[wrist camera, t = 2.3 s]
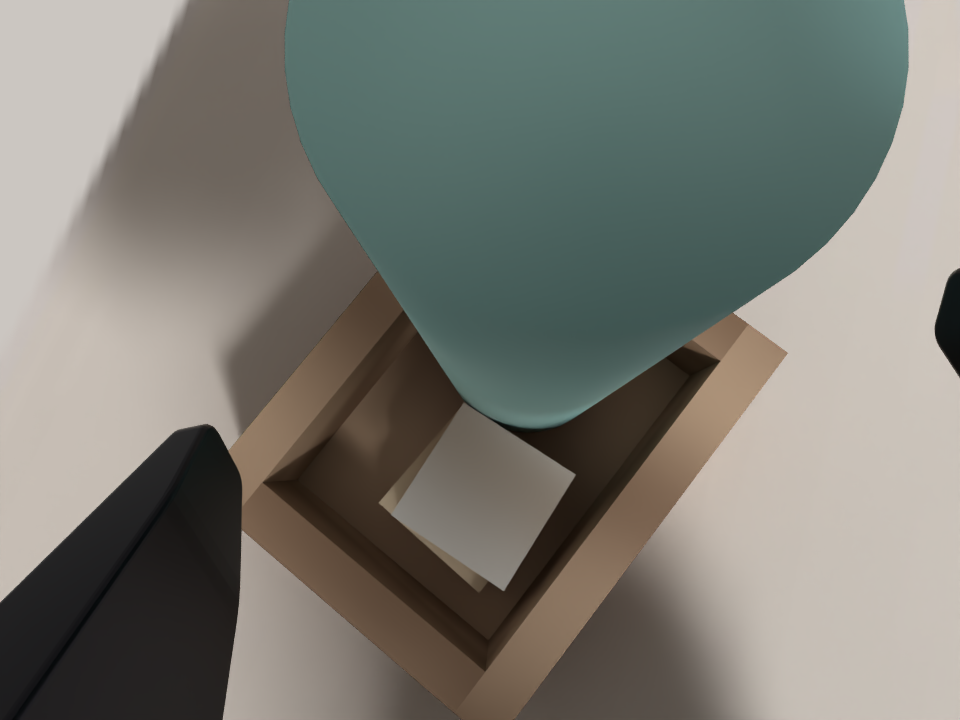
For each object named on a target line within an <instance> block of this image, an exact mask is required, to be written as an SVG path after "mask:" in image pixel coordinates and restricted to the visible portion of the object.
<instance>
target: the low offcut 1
mask: <svg viewBox="0 0 960 720" xmlns="http://www.w3.org/2000/svg"><path fill="white" fill-rule="evenodd" d="M465 404H466V403H465ZM458 411H459V410H458ZM458 411H457V412H458ZM457 412H456V413H455V415H456V414H457ZM455 415H454V416H453V417H452V418H451V419H450V420H449V421H448V423H447V424H446V425H445V426H444V427H443V428H442V430H441V431H440V432H439V433H438V434H437V435H436V437H435V438H434V439H433V440H432V441H431V442H430V444H429V445H428V446H427V447H426V448H425V449H424V451H423V452H422V453H421V454H420V455H419V456H418V458H417V459H416V460H415V461H414V462H413V463H412V465H411V466H410V467H409V468H408V469H407V470H406V472H405V473H404V474H403V475H402V476H401V477H400V478H399V480H398V481H397V482H396V483H395V484H394V485H393V487H392V488H391V489H390V490H389V491H388V492H387V494H386V495H385V496H384V497H383V498H382V499H381V501H380V502H379V504H380V505H382V506H383V507H384V508H385V509H386V510H387V511H388V512H389V513H390V514H392V512H393V511H394V509H395V508H396V506H397V505H398V503H399V502H400V500H401V499H402V497H403V496H404V494H405V492H406V491H407V489H408V488H409V486H410V485H411V483H412V482H413V480H414V479H415V477H416V475H417V474H418V472H419V471H420V469H421V468H422V466H423V465H424V463H425V462H426V460H427V458H428V457H429V455H430V454H431V452H432V451H433V449H434V448H435V446H436V445H437V443H438V441H439V440H440V438H441V437H442V435H443V434H444V432H445V431H446V429H447V428H448V426H449V424H450V423H451V421H452V420H453V418H454V417H455ZM398 521H399V520H398ZM399 522H400V521H399ZM400 523H402V522H400ZM402 524H403V523H402ZM403 525H404V526H405V527H406V528H407V529H408V530H409V531H410V532H412V533H413V534H414V535H415V536H416V537H417V538H418V539H419V540H420V541H422V542H423V543H424V544H425V545H426V546H427V547H428V548H429V549H430V550H432V551H433V552H434V553H435V554H436V555H437V556H438V557H439V558H441V559H442V560H443V561H444V562H445V563H446V564H447V565H448V566H449V567H451V568H452V569H453V570H454V571H455V572H456V573H457V574H458V575H459V576H461V577H462V578H463V579H464V580H465V581H466V582H467V583H468V584H469V585H471V586H472V587H473V588H474V589H475V590H476V591H477V592H478V593H479V592H480V591H481V590H482V589H483V587H484V586H485V585H486V584H487V583H488V580H486V579H485V578H483V577H482V576H480V575H479V574H477V573H476V572H475V571H473V570H472V569H470V568H469V567H467V566H466V565H464V564H463V563H461V562H460V561H458V560H457V559H455V558H454V557H452V556H451V555H449V554H448V553H446V552H445V551H443V550H442V549H440V548H439V547H437V546H436V545H434V544H433V543H432V542H430V541H429V540H427V539H426V538H424V537H423V536H421V535H420V534H418V533H417V532H415V531H414V530H412V529H411V528H409V527H408V526H406V525H405V524H403Z"/></svg>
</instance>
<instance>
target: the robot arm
mask: <svg viewBox="0 0 960 720" xmlns="http://www.w3.org/2000/svg"><path fill="white" fill-rule="evenodd" d="M935 336H936V340H937V343H938V345H939V347H940V349H941V350H942V352H943V353H944V355H945V356H946V358H947V359H948V361H949V362H950V364H951V365H952V367H953V368H954V370H955V371H956V373H957V374H958V376H959V377H960V268H959V269H957V270H955V271H954V272H953V273H952V274H951V275H950V276H949V278H948V280H947V283H946V287H945V290H944V294H943V297H942V301H941V305H940V308H939V312H938V315H937V319H936V323H935ZM241 528H242V480H241V476H240V473H239V470H238V468H237V466H236V464H235V463H234V461H233V459H232V457H231V455H230V453H229V452H228V450H227V448H226V446H225V444H224V442H223V440H222V439H221V437H220V435H219V433H218V432H217V430H216V429H215V428H214V427H213V426H211V425H208V424H203V425H198V426H194V427H189V428H184V429H180V430H177V431H175V432H174V433H173V434H172V435H170V436H169V437H168V438H167V439H166V440H165V441H164V442H163V443H162V444H161V445H160V446H159V447H158V448H157V449H156V450H155V451H154V452H153V453H152V454H151V455H150V456H149V457H148V458H147V459H146V460H145V461H144V462H143V463H142V464H141V465H140V466H139V467H138V468H137V469H136V470H135V471H134V472H133V473H132V474H131V475H130V476H129V477H128V478H127V479H126V480H125V481H124V482H123V483H122V484H121V485H120V486H119V487H117V488H116V489H115V490H114V491H113V492H112V493H111V494H110V495H109V496H108V497H107V498H106V499H105V500H104V501H103V502H102V503H101V504H100V505H99V506H98V507H97V508H96V509H95V510H94V511H93V512H92V513H91V514H90V515H89V516H88V517H87V518H86V519H85V520H84V521H83V522H82V523H81V524H80V525H79V526H78V527H77V528H76V529H75V530H74V531H73V532H72V533H71V534H70V535H69V536H68V537H67V538H65V539H64V540H63V541H62V542H61V543H60V544H59V545H58V546H57V547H56V548H55V549H54V550H53V551H52V552H51V553H50V554H49V555H48V556H47V557H46V558H45V559H44V560H43V561H42V562H41V563H40V564H39V565H38V566H37V567H36V568H35V569H34V570H33V571H32V572H31V573H30V574H29V575H28V576H27V577H26V578H25V579H24V580H23V581H22V582H21V583H20V584H19V585H18V586H17V587H15V588H14V589H13V590H12V591H11V592H10V593H9V594H8V595H7V596H6V597H5V598H4V599H3V600H2V601H1V602H0V720H222V719H223V713H224V706H225V699H226V692H227V685H228V678H229V671H230V664H231V658H232V651H233V644H234V637H235V630H236V623H237V615H238V607H239V594H240V568H241Z"/></svg>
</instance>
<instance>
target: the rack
mask: <svg viewBox="0 0 960 720" xmlns="http://www.w3.org/2000/svg"><path fill="white" fill-rule="evenodd" d="M787 354H788V353H787V352H786V351H785V350H783V349H782V348H780V347H779V346H778V345H776V344H775V343H774V342H772V341H771V340H769V339H768V338H767V337H765V336H764V335H763V334H761V333H760V332H758V331H757V330H756V329H754V328H753V327H752V326H750V325H749V324H747V323H746V322H745V321H743V320H742V319H741V318H739V317H738V316H737V315H735V314H734V313H731V314H730V315H728V316H727V317H725V318H724V319H722V320H721V321H719V322H718V323H716V324H715V325H713V326H712V327H710V328H709V329H707V330H706V331H704V332H703V333H701V334H700V335H698V336H697V337H695V338H694V339H692V340H691V341H689V342H688V343H686V344H685V345H683V346H682V347H680V348H679V349H677V350H676V351H674V352H673V353H671V354H670V355H668V356H667V357H665V358H664V359H662V360H661V361H659V362H658V363H656V364H655V365H653V366H652V367H650V368H649V369H647V370H646V371H644V372H643V373H641V374H640V375H638V376H637V377H635V378H634V379H632V380H631V381H629V382H628V383H626V384H625V385H623V386H622V387H620V388H619V389H617V390H616V391H614V392H613V393H611V394H610V395H608V396H607V397H605V398H604V399H602V400H601V401H599V402H598V403H596V404H595V405H593V406H592V407H590V408H589V409H587V410H586V411H584V412H583V413H581V414H580V415H578V416H577V417H575V418H574V419H572V420H570V421H569V422H567V423H565V424H563V425H561V426H559V427H556V428H553V429H550V430H546V431H541V432H529V433H526V432H515V431H511V430H507V431H509V432H510V433H512V434H513V435H515V436H516V437H518V438H520V439H521V440H523V441H524V442H526V443H527V444H529V445H530V446H532V447H534V448H535V449H537V450H538V451H540V452H541V453H543V454H544V455H546V456H548V457H549V458H551V459H552V460H554V461H555V462H557V463H558V464H560V465H562V466H563V467H565V468H566V469H568V470H569V471H571V472H572V473H574V474H576V475H575V477H574V479H573V480H572V482H571V483H570V485H569V487H568V488H567V490H566V492H565V493H564V495H563V496H562V498H561V500H560V501H559V503H558V504H557V506H556V508H555V509H554V511H553V513H552V514H551V516H550V517H549V519H548V521H547V522H546V524H545V525H544V527H543V529H542V530H541V532H540V533H539V535H538V537H537V538H536V540H535V542H534V543H533V545H532V546H531V548H530V550H529V551H528V553H527V554H526V556H525V558H524V559H523V561H522V563H521V564H520V566H519V567H518V569H517V571H516V572H515V574H514V575H513V577H512V579H511V580H510V582H509V584H508V585H507V587H506V588H505V590H504V591H503V590H501V589H500V588H498V587H497V586H495V585H494V584H492V583H491V582H489V581H488V583H487V584H486V585H485V586H484V587H483V589H482V590H481V591H480V592H479V593H478V592H477V591H476V590H475V589H474V588H473V587H472V586H471V585H469V584H468V583H467V582H466V581H465V580H464V579H463V578H462V577H461V576H459V575H458V574H457V573H456V572H455V571H454V570H453V569H452V568H451V567H449V566H448V565H447V564H446V563H445V562H444V561H443V560H442V559H441V558H439V557H438V556H437V555H436V554H435V553H434V552H433V551H432V550H430V549H429V548H428V547H427V546H426V545H425V544H424V543H423V542H422V541H420V540H419V539H418V538H417V537H416V536H415V535H414V534H413V533H412V532H410V531H409V530H408V529H407V528H406V527H405V526H404V525H403V524H402V523H400V522H399V521H398V520H397V519H396V518H394V517H393V516H391V514H390V513H389V512H388V511H387V510H386V509H385V508H384V507H383V506H382V505H380V504H379V502H380V501H381V499H382V498H383V497H384V496H385V495H386V494H387V492H388V491H389V490H390V489H391V488H392V487H393V485H394V484H395V483H396V482H397V481H398V480H399V478H400V477H401V476H402V475H403V474H404V473H405V472H406V470H407V469H408V468H409V467H410V466H411V465H412V463H413V462H414V461H415V460H416V459H417V458H418V456H419V455H420V454H421V453H422V452H423V451H424V449H425V448H426V447H427V446H428V445H429V444H430V442H431V441H432V440H433V439H434V438H435V437H436V435H437V434H438V433H439V432H440V431H441V430H442V428H443V427H444V426H445V425H446V424H447V423H448V421H449V420H450V419H451V418H452V417H453V416H454V415H455V413H456V412H457V411H458V410H459V409H460V408H461V406H462V404H463V403H465V402H464V400H463V399H462V397H461V396H460V394H459V393H458V391H457V390H456V388H455V387H454V385H453V384H452V382H451V381H450V379H449V378H448V376H447V375H446V373H445V372H444V370H443V369H442V367H441V366H440V364H439V363H438V361H437V360H436V358H435V357H434V355H433V354H432V352H431V351H430V349H429V347H428V346H427V344H426V343H425V341H424V340H423V338H422V337H421V335H420V334H419V332H418V331H417V329H416V328H415V326H414V325H413V323H412V322H411V320H410V319H409V317H408V316H407V314H406V313H405V311H404V310H403V308H402V307H401V305H400V304H399V302H398V301H397V299H396V297H395V296H394V294H393V293H392V291H391V290H390V288H389V287H388V285H387V284H386V282H385V281H384V279H383V278H382V276H381V275H380V273H379V272H378V271H377V272H376V274H375V275H374V276H373V277H372V279H371V280H370V281H369V282H368V283H367V285H366V286H365V287H364V288H363V289H362V291H361V292H360V293H359V294H358V295H357V297H356V298H355V299H354V300H353V301H352V303H351V304H350V305H349V306H348V307H347V309H346V310H345V311H344V312H343V313H342V315H341V316H340V317H339V318H338V319H337V321H336V322H335V323H334V324H333V326H332V327H331V328H330V329H329V330H328V332H327V333H326V334H325V335H324V336H323V338H322V339H321V340H320V341H319V342H318V344H317V345H316V346H315V347H314V348H313V350H312V351H311V352H310V353H309V354H308V356H307V357H306V358H305V359H304V360H303V362H302V363H301V364H300V365H299V366H298V368H297V369H296V370H295V371H294V373H293V374H292V375H291V376H290V377H289V379H288V380H287V381H286V382H285V383H284V385H283V386H282V387H281V388H280V389H279V391H278V392H277V393H276V394H275V395H274V397H273V398H272V399H271V400H270V401H269V403H268V404H267V405H266V406H265V407H264V409H263V410H262V411H261V412H260V413H259V415H258V416H257V417H256V418H255V420H254V421H253V422H252V423H251V424H250V426H249V427H248V428H247V429H246V430H245V432H244V433H243V434H242V435H241V436H240V438H239V439H238V440H237V441H236V442H235V444H234V445H233V446H232V447H231V448H230V450H229V451H228V452H229V453H230V455H231V457H232V459H233V461H234V463H235V464H236V466H237V468H238V470H239V473H240V476H241V480H242V528H241V529H242V530H243V531H244V532H245V533H246V534H247V535H249V536H250V537H251V538H252V539H253V540H254V541H255V542H257V543H258V544H259V545H260V546H261V547H262V548H264V549H265V550H266V551H267V552H268V553H269V554H271V555H272V556H273V557H274V558H275V559H276V560H277V561H279V562H280V563H281V564H282V565H283V566H284V567H286V568H287V569H288V570H289V571H290V572H291V573H293V574H294V575H295V576H296V577H297V578H298V579H299V580H301V581H302V582H303V583H304V584H305V585H306V586H308V587H309V588H310V589H311V590H312V591H313V592H315V593H316V594H317V595H318V596H319V597H320V598H321V599H323V600H324V601H325V602H326V603H327V604H328V605H330V606H331V607H332V608H333V609H334V610H335V611H337V612H338V613H339V614H340V615H341V616H342V617H343V618H345V619H346V620H347V621H348V622H349V623H350V624H352V625H353V626H354V627H355V628H356V629H357V630H359V631H360V632H361V633H362V634H363V635H364V636H365V637H367V638H368V639H369V640H370V641H371V642H372V643H374V644H375V645H376V646H377V647H378V648H379V649H381V650H382V651H383V652H384V653H385V654H386V655H387V656H389V657H390V658H391V659H392V660H393V661H394V662H396V663H397V664H398V665H399V666H400V667H401V668H403V669H404V670H405V671H406V672H407V673H408V674H409V675H411V676H412V677H413V678H414V679H415V680H416V681H418V682H419V683H420V684H421V685H422V686H423V687H424V688H426V689H427V690H428V691H429V692H430V693H431V694H433V695H434V696H435V697H436V698H437V699H438V700H440V701H441V702H442V703H443V704H444V705H445V706H446V707H448V708H449V709H450V710H451V711H452V712H453V713H455V714H456V715H457V716H458V717H459V718H460V719H462V720H514V719H515V718H516V717H517V715H518V714H519V713H520V711H521V710H522V709H523V707H524V706H525V705H526V703H527V702H528V701H529V699H530V698H531V697H532V695H533V694H534V693H535V691H536V690H537V689H538V687H539V686H540V685H541V683H542V682H543V681H544V679H545V678H546V676H547V675H548V674H549V672H550V671H551V670H552V668H553V667H554V666H555V664H556V663H557V662H558V660H559V659H560V658H561V656H562V655H563V654H564V652H565V651H566V650H567V648H568V647H569V646H570V644H571V643H572V642H573V640H574V639H575V638H576V636H577V635H578V634H579V632H580V631H581V630H582V628H583V627H584V626H585V624H586V623H587V622H588V620H589V619H590V618H591V616H592V615H593V614H594V612H595V611H596V609H597V608H598V607H599V605H600V604H601V603H602V601H603V600H604V599H605V597H606V596H607V595H608V593H609V592H610V591H611V589H612V588H613V587H614V585H615V584H616V583H617V581H618V580H619V579H620V577H621V576H622V575H623V573H624V572H625V571H626V569H627V568H628V567H629V565H630V564H631V563H632V561H633V560H634V559H635V557H636V556H637V555H638V553H639V552H640V551H641V549H642V548H643V547H644V545H645V544H646V542H647V541H648V540H649V538H650V537H651V536H652V534H653V533H654V532H655V530H656V529H657V528H658V526H659V525H660V524H661V522H662V521H663V520H664V518H665V517H666V516H667V514H668V513H669V512H670V510H671V509H672V508H673V506H674V505H675V504H676V502H677V501H678V500H679V498H680V497H681V496H682V494H683V493H684V492H685V490H686V489H687V488H688V486H689V485H690V484H691V482H692V481H693V480H694V478H695V477H696V475H697V474H698V473H699V471H700V470H701V469H702V467H703V466H704V465H705V463H706V462H707V461H708V459H709V458H710V457H711V455H712V454H713V453H714V451H715V450H716V449H717V447H718V446H719V445H720V443H721V442H722V441H723V439H724V438H725V437H726V435H727V434H728V433H729V431H730V430H731V429H732V427H733V426H734V425H735V423H736V422H737V421H738V419H739V418H740V417H741V415H742V414H743V413H744V411H745V410H746V408H747V407H748V406H749V404H750V403H751V402H752V400H753V399H754V398H755V396H756V395H757V394H758V392H759V391H760V390H761V388H762V387H763V386H764V384H765V383H766V382H767V380H768V379H769V378H770V376H771V375H772V374H773V372H774V371H775V370H776V368H777V367H778V366H779V364H780V363H781V362H782V360H783V359H784V358H785V356H786V355H787Z"/></svg>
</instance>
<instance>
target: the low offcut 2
mask: <svg viewBox="0 0 960 720" xmlns="http://www.w3.org/2000/svg"><path fill="white" fill-rule="evenodd" d="M575 475H576V474H574V473H572V472H571V471H569V470H568V469H566V468H565V467H563V466H562V465H560V464H558V463H557V462H555V461H554V460H552V459H551V458H549V457H548V456H546V455H544V454H543V453H541V452H540V451H538V450H537V449H535V448H534V447H532V446H530V445H529V444H527V443H526V442H524V441H523V440H521V439H520V438H518V437H516V436H515V435H513V434H512V433H510V432H509V431H507V430H506V429H504V428H502V427H501V426H499V425H498V424H496V423H495V422H493V421H492V420H490V419H488V418H487V417H485V416H484V415H482V414H481V413H479V412H478V411H476V410H474V409H473V408H471V407H470V406H468V405H467V404H465V403H463V404H462V406H461V408H460V409H459V411H458V412H457V414H456V415H455V417H454V418H453V420H452V421H451V423H450V424H449V426H448V428H447V429H446V431H445V432H444V434H443V435H442V437H441V438H440V440H439V441H438V443H437V445H436V446H435V448H434V449H433V451H432V452H431V454H430V455H429V457H428V458H427V460H426V462H425V463H424V465H423V466H422V468H421V469H420V471H419V472H418V474H417V475H416V477H415V479H414V480H413V482H412V483H411V485H410V486H409V488H408V489H407V491H406V492H405V494H404V496H403V497H402V499H401V500H400V502H399V503H398V505H397V506H396V508H395V509H394V511H393V512H392V514H391V516H393V517H394V518H396V519H397V520H399V521H400V522H402V523H403V524H405V525H406V526H408V527H409V528H411V529H412V530H414V531H415V532H417V533H418V534H420V535H421V536H423V537H424V538H426V539H427V540H429V541H430V542H432V543H433V544H434V545H436V546H437V547H439V548H440V549H442V550H443V551H445V552H446V553H448V554H449V555H451V556H452V557H454V558H455V559H457V560H458V561H460V562H461V563H463V564H464V565H466V566H467V567H469V568H470V569H472V570H473V571H475V572H476V573H477V574H479V575H480V576H482V577H483V578H485V579H486V580H488V581H489V582H491V583H492V584H494V585H495V586H497V587H498V588H500V589H501V590H503V591H504V590H505V588H506V587H507V585H508V584H509V582H510V580H511V579H512V577H513V575H514V574H515V572H516V571H517V569H518V567H519V566H520V564H521V563H522V561H523V559H524V558H525V556H526V554H527V553H528V551H529V550H530V548H531V546H532V545H533V543H534V542H535V540H536V538H537V537H538V535H539V533H540V532H541V530H542V529H543V527H544V525H545V524H546V522H547V521H548V519H549V517H550V516H551V514H552V513H553V511H554V509H555V508H556V506H557V504H558V503H559V501H560V500H561V498H562V496H563V495H564V493H565V492H566V490H567V488H568V487H569V485H570V483H571V482H572V480H573V479H574V477H575Z"/></svg>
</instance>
